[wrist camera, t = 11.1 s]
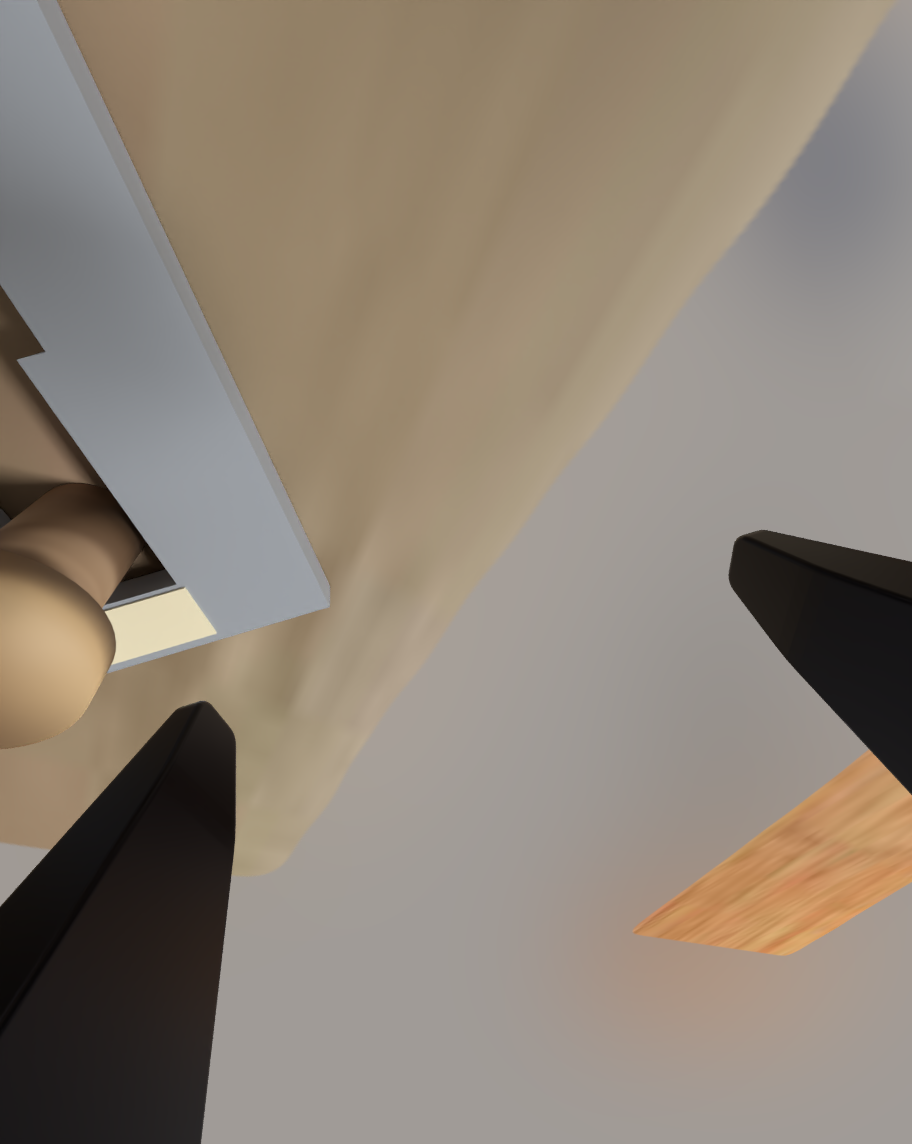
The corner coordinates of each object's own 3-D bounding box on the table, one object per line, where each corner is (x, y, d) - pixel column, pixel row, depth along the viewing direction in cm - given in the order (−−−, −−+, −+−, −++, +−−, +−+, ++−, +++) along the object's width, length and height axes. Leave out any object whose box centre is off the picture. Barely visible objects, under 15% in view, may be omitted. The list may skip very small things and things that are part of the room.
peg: (120, 437, 16) (-21, 550, 9) (203, 564, 19) (137, 712, 13) (-42, 480, 15) (-297, 627, 9) (69, 602, 18) (-65, 773, 12)
